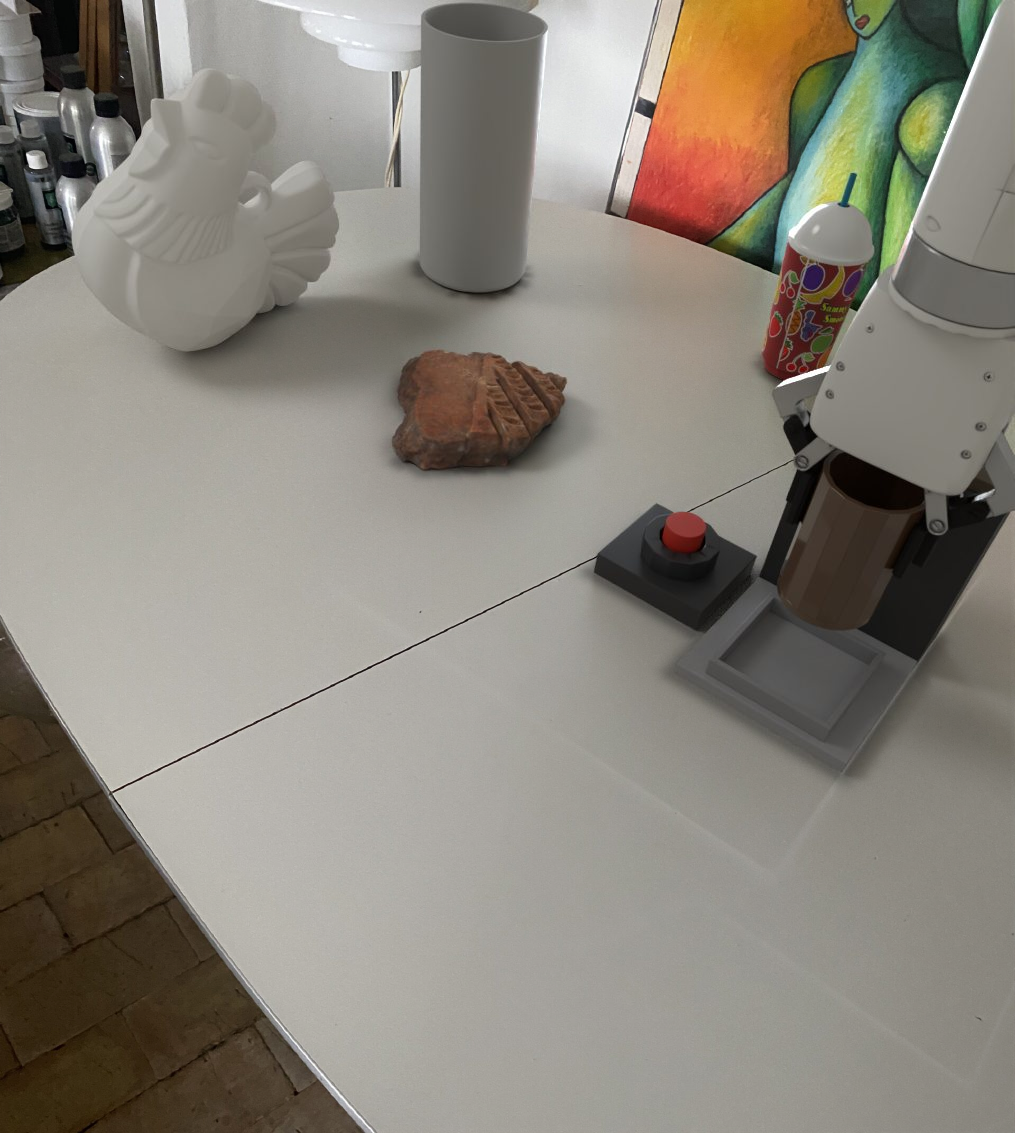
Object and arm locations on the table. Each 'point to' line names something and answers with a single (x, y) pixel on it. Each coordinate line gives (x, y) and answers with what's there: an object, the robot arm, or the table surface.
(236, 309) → the decorative rooster
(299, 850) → the table surface
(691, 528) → the button
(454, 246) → the cylinder vase
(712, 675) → the coffee maker
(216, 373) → the table surface
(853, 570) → the brown cup
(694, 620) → the black button housing
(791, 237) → the smoothie
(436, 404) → the pottery shard
